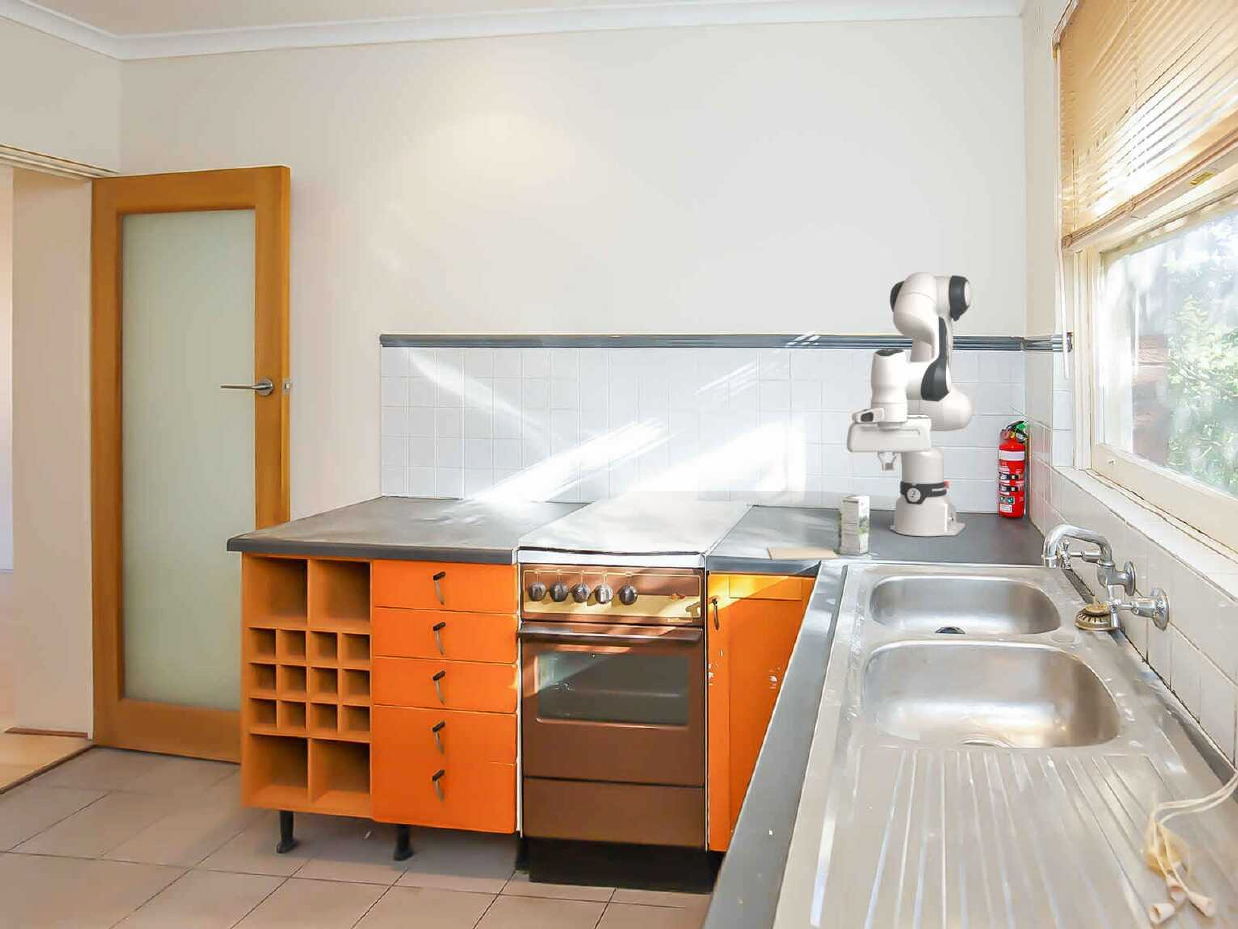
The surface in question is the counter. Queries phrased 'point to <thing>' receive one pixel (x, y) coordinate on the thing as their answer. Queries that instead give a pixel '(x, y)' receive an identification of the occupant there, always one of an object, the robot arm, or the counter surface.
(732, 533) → the counter surface
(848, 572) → the counter surface
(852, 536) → the syrup box
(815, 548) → the mat
